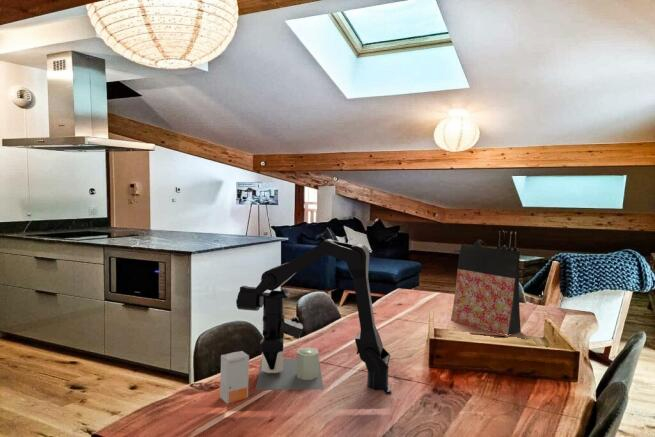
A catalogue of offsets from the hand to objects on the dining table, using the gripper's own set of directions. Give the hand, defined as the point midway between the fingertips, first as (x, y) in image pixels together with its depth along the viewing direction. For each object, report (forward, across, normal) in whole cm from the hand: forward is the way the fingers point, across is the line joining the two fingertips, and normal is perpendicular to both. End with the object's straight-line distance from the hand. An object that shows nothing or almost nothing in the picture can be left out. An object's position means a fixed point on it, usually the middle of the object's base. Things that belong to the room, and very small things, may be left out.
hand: (272, 365), depth 130 cm
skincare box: (+4, -15, +9) cm, 18 cm away
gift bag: (+4, +50, -84) cm, 98 cm away
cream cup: (+1, 0, 0) cm, 1 cm away
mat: (+3, 0, -5) cm, 6 cm away
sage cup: (+2, -2, -10) cm, 10 cm away
